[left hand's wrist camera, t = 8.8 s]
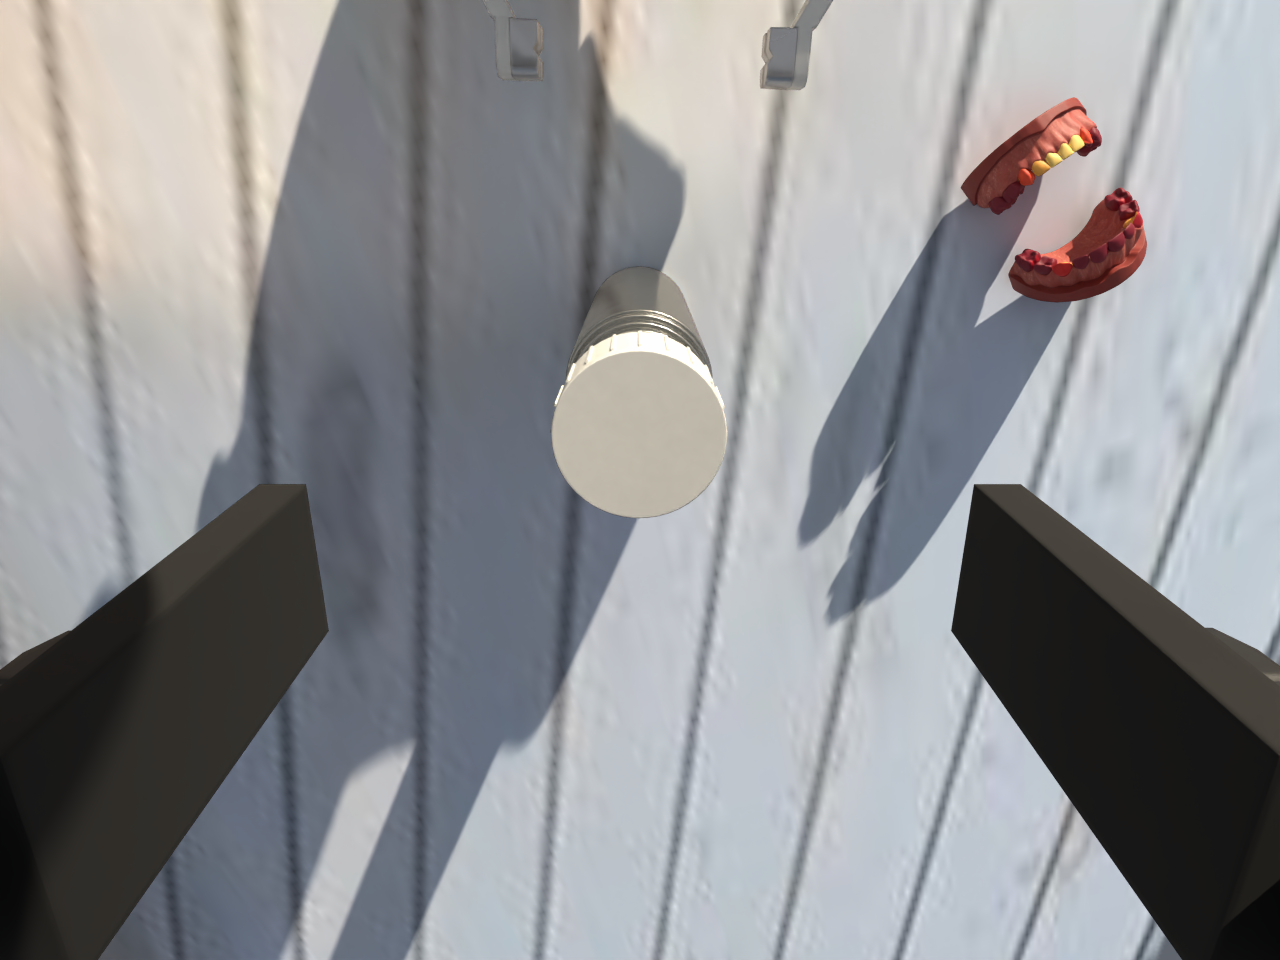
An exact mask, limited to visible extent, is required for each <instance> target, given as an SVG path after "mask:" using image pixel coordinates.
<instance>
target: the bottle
mask: <svg viewBox="0 0 1280 960" xmlns="http://www.w3.org/2000/svg"><path fill="white" fill-rule="evenodd" d="M638 331H642V332H647V333H654V334H659V335H663V336H664V335H667V336H668V338H671V339H673V340H675V341H677V342H679V343H681V344H682V345H684V346H685V347H686V348H687V346H688V347H690V349H691V351H692V352H693V353H694V354H695V355H696V356H697V357H698V358H699V360H700V361H701V362H702V363H703V365H705V364H706V365H707V367H708V369H709V372H710V375H711V377H712V370H711V365H710V361H709V358H708V355H707V353H706V350H705V348H704V345H703V343H702V340H701V338H700V335H699V333H698V330H697V328H696V326H695V323H694V321H693V318H692V316H691V313H690V311H689V308H688V306H687V303H686V301H685V298H684V296H683V294H682V292H681V290H680V288H679V287H678V286H677V284H676V283H675V282H674V281H673V280H672V279H671V278H670V277H668V276H667V275H666V274H664V273H662V272H660V271H658V270H656V269H653V268H649V267H630V268H626V269H623V270H621V271H618V272H616V273H615V274H613V275H612V276H610V277H609V278H608V279H607V280H606V281H605V282H604V283H603V284H602V285H601V287H600V288H599V290H598V291H597V293H596V295H595V298H594V300H593V302H592V305H591V307H590V310H589V312H588V315H587V317H586V319H585V322H584V324H583V327H582V329H581V332H580V334H579V337H578V339H577V341H576V344H575V346H574V349H573V351H572V354H571V356H570V359H569V362H568V367H567V372H566V379H567V377H568V374H569V371H570V369H571V366H572V364H573V363H574V364H576V362H577V361H578V360H579V359H580V358H581V357H582V356H583V354H584V353H586V352H587V351H588V350H589V347H590V346H591V345H592V346H595V345H596V344H598V343H599V342H601V341H603V340H605V339H608V338H610V337H612V336H613V335H614V334H616V335H619V334H624V333H630V332H638Z"/></svg>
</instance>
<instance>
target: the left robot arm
mask: <svg viewBox="0 0 1280 960" xmlns="http://www.w3.org/2000/svg"><path fill="white" fill-rule="evenodd" d="M328 631H329V630H328V623H327V617H326V610H325V604H324V597H323V591H322V585H321V578H320V572H319V565H318V559H317V552H316V546H315V540H314V533H313V527H312V520H311V514H310V507H309V501H308V495H307V488H306V484H259V485H258V486H257V487H255V488H254V489H253V490H251V491H250V492H249V493H248V494H246V495H245V496H244V497H242V498H241V499H240V500H239V501H237V502H236V503H235V504H233V505H232V506H231V507H230V508H228V509H227V510H226V511H224V512H223V513H222V514H221V515H219V516H218V517H217V518H215V519H214V520H213V521H212V522H210V523H209V524H208V525H207V526H205V527H204V528H203V529H201V530H200V531H199V532H198V533H196V534H195V535H194V536H192V537H191V538H190V539H189V540H187V541H186V542H185V543H183V544H182V545H181V546H180V547H178V548H177V549H176V550H174V551H173V552H172V553H171V554H169V555H168V556H167V557H165V558H164V559H163V560H162V561H160V562H159V563H158V564H157V565H155V566H154V567H153V568H151V569H150V570H149V571H148V572H146V573H145V574H144V575H142V576H141V577H140V578H139V579H137V580H136V581H135V582H133V583H132V584H131V585H130V586H128V587H127V588H126V589H124V590H123V591H122V592H121V593H119V594H118V595H117V596H115V597H114V598H113V599H112V600H110V601H109V602H108V603H106V604H105V605H104V606H103V607H101V608H100V609H99V610H98V611H96V612H95V613H94V614H92V615H91V616H90V617H89V618H87V619H86V620H85V621H83V622H82V623H81V624H80V625H78V626H77V627H76V628H74V629H73V630H72V631H67V632H65V633H63V634H60V635H58V636H56V637H54V638H52V639H50V640H48V641H46V642H44V643H42V644H40V645H38V646H36V647H34V648H32V649H30V650H28V651H26V652H24V653H22V654H21V655H19V656H18V657H17V658H15V659H14V660H13V661H11V662H10V663H9V664H7V665H6V666H5V667H3V668H2V669H1V670H0V960H98V959H99V957H100V956H101V954H102V953H103V952H104V950H105V949H106V947H107V946H108V944H109V943H110V942H111V940H112V939H113V937H114V936H115V934H116V933H117V932H118V930H119V929H120V927H121V926H122V925H123V923H124V922H125V920H126V919H127V917H128V916H129V915H130V913H131V912H132V910H133V909H134V907H135V906H136V905H137V903H138V902H139V900H140V899H141V897H142V896H143V895H144V893H145V892H146V890H147V889H148V887H149V886H150V885H151V883H152V882H153V880H154V879H155V878H156V876H157V875H158V873H159V872H160V870H161V869H162V868H163V866H164V865H165V863H166V862H167V860H168V859H169V858H170V856H171V855H172V853H173V852H174V850H175V849H176V848H177V846H178V845H179V843H180V842H181V840H182V839H183V838H184V836H185V835H186V833H187V832H188V831H189V829H190V828H191V826H192V825H193V823H194V822H195V821H196V819H197V818H198V816H199V815H200V813H201V812H202V811H203V809H204V808H205V806H206V805H207V803H208V802H209V801H210V799H211V798H212V796H213V795H214V793H215V792H216V791H217V789H218V788H219V786H220V785H221V784H222V782H223V781H224V779H225V778H226V776H227V775H228V774H229V772H230V771H231V769H232V768H233V766H234V765H235V764H236V762H237V761H238V759H239V758H240V756H241V755H242V754H243V752H244V751H245V749H246V748H247V746H248V745H249V744H250V742H251V741H252V739H253V738H254V737H255V735H256V734H257V732H258V731H259V729H260V728H261V727H262V725H263V724H264V722H265V721H266V719H267V718H268V717H269V715H270V714H271V712H272V711H273V709H274V708H275V707H276V705H277V704H278V702H279V701H280V699H281V698H282V697H283V695H284V694H285V692H286V691H287V690H288V688H289V687H290V685H291V684H292V682H293V681H294V680H295V678H296V677H297V675H298V674H299V672H300V671H301V670H302V668H303V667H304V665H305V664H306V662H307V661H308V660H309V658H310V657H311V655H312V654H313V652H314V651H315V650H316V648H317V647H318V645H319V644H320V643H321V641H322V640H323V638H324V637H325V635H326V634H327V633H328ZM951 631H952V633H953V634H954V635H955V637H956V638H957V640H958V641H959V643H960V644H961V645H962V647H963V648H964V650H965V651H966V652H967V654H968V655H969V657H970V658H971V660H972V661H973V662H974V664H975V665H976V667H977V668H978V670H979V671H980V672H981V674H982V675H983V677H984V678H985V680H986V681H987V682H988V684H989V685H990V687H991V688H992V690H993V691H994V692H995V694H996V695H997V697H998V698H999V699H1000V701H1001V702H1002V704H1003V705H1004V707H1005V708H1006V709H1007V711H1008V712H1009V714H1010V715H1011V717H1012V718H1013V719H1014V721H1015V722H1016V724H1017V725H1018V727H1019V728H1020V729H1021V731H1022V732H1023V734H1024V735H1025V737H1026V738H1027V739H1028V741H1029V742H1030V744H1031V745H1032V746H1033V748H1034V749H1035V751H1036V752H1037V754H1038V755H1039V756H1040V758H1041V759H1042V761H1043V762H1044V764H1045V765H1046V766H1047V768H1048V769H1049V771H1050V772H1051V774H1052V775H1053V776H1054V778H1055V779H1056V781H1057V782H1058V783H1059V785H1060V786H1061V788H1062V789H1063V791H1064V792H1065V793H1066V795H1067V796H1068V798H1069V799H1070V801H1071V802H1072V803H1073V805H1074V806H1075V808H1076V809H1077V811H1078V812H1079V813H1080V815H1081V816H1082V818H1083V819H1084V821H1085V822H1086V823H1087V825H1088V826H1089V828H1090V829H1091V830H1092V832H1093V833H1094V835H1095V836H1096V838H1097V839H1098V840H1099V842H1100V843H1101V845H1102V846H1103V848H1104V849H1105V850H1106V852H1107V853H1108V855H1109V856H1110V858H1111V859H1112V860H1113V862H1114V863H1115V865H1116V866H1117V868H1118V869H1119V870H1120V872H1121V873H1122V875H1123V876H1124V877H1125V879H1126V880H1127V882H1128V883H1129V885H1130V886H1131V887H1132V889H1133V890H1134V892H1135V893H1136V895H1137V896H1138V897H1139V899H1140V900H1141V902H1142V903H1143V905H1144V906H1145V907H1146V909H1147V910H1148V912H1149V913H1150V915H1151V916H1152V917H1153V919H1154V920H1155V922H1156V923H1157V924H1158V926H1159V927H1160V929H1161V930H1162V932H1163V933H1164V934H1165V936H1166V937H1167V939H1168V940H1169V942H1170V943H1171V944H1172V946H1173V947H1174V949H1175V950H1176V952H1177V953H1178V954H1179V956H1180V957H1181V959H1182V960H1280V666H1279V665H1278V664H1276V663H1275V662H1274V661H1272V660H1271V659H1270V658H1268V657H1267V656H1266V655H1264V654H1263V653H1262V652H1260V651H1259V650H1257V649H1255V648H1253V647H1251V646H1249V645H1247V644H1245V643H1243V642H1241V641H1239V640H1237V639H1235V638H1232V637H1230V636H1228V635H1226V634H1224V633H1222V632H1220V631H1218V630H1216V629H1214V628H1204V627H1203V626H1202V625H1200V624H1199V623H1198V622H1197V621H1195V620H1194V619H1193V618H1191V617H1190V616H1189V615H1188V614H1186V613H1185V612H1184V611H1182V610H1181V609H1180V608H1179V607H1177V606H1176V605H1175V604H1174V603H1172V602H1171V601H1170V600H1168V599H1167V598H1166V597H1165V596H1163V595H1162V594H1161V593H1159V592H1158V591H1157V590H1156V589H1154V588H1153V587H1152V586H1150V585H1149V584H1148V583H1147V582H1145V581H1144V580H1143V579H1141V578H1140V577H1139V576H1138V575H1136V574H1135V573H1134V572H1132V571H1131V570H1130V569H1129V568H1127V567H1126V566H1125V565H1124V564H1122V563H1121V562H1120V561H1118V560H1117V559H1116V558H1115V557H1113V556H1112V555H1111V554H1109V553H1108V552H1107V551H1106V550H1104V549H1103V548H1102V547H1100V546H1099V545H1098V544H1097V543H1095V542H1094V541H1093V540H1091V539H1090V538H1089V537H1088V536H1086V535H1085V534H1084V533H1082V532H1081V531H1080V530H1079V529H1077V528H1076V527H1075V526H1073V525H1072V524H1071V523H1070V522H1068V521H1067V520H1066V519H1065V518H1063V517H1062V516H1061V515H1059V514H1058V513H1057V512H1056V511H1054V510H1053V509H1052V508H1050V507H1049V506H1048V505H1047V504H1045V503H1044V502H1043V501H1041V500H1040V499H1039V498H1038V497H1036V496H1035V495H1034V494H1032V493H1031V492H1030V491H1029V490H1027V489H1026V488H1025V487H1023V486H1022V485H1021V484H974V488H973V495H972V501H971V508H970V514H969V520H968V527H967V533H966V540H965V546H964V552H963V559H962V565H961V572H960V578H959V585H958V591H957V597H956V604H955V610H954V617H953V623H952V630H951Z"/></svg>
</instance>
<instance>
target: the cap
mask: <svg viewBox="0 0 1280 960" xmlns="http://www.w3.org/2000/svg"><path fill="white" fill-rule="evenodd" d="M554 406H555V407H556V408H555V411H554V415H553V420H552V427H551V439H552V448H553V452H554V457H555V459H556V462H557V465H558V467H559V469H560V471H561V473H562V475H563V477H564V478H565V480H566V481H567V483H568V484H569V485H570V486H571V488H572V489H573V490H574V491H575V492H576V493H577V494H578V495H579V496H581V497H582V498H583V499H584V500H585V501H587V502H588V503H590V504H591V505H593V506H595V507H597V508H599V509H601V510H603V511H605V512H608V513H611V514H614V515H618V516H622V517H629V518H649V517H656V516H661V515H664V514H668V513H671V512H673V511H675V510H678V509H680V508H682V507H683V506H685V505H687V504H689V503H690V502H691V501H693V500H694V499H695V498H697V497H698V496H699V495H700V494H701V493H702V492H703V491H704V490H705V489H706V488H707V487H708V485H709V484H710V483H711V482H712V480H713V479H714V477H715V475H716V474H717V472H718V470H719V468H720V465H721V463H722V460H723V457H724V454H725V449H726V442H727V433H728V432H727V426H726V418H725V415H724V411H723V408H725V407H724V404H723V401H722V398H721V396H720V393H719V391H718V388H717V387H715V386H714V384H713V380H712V377H711V375H710V372H709V369H708V367H707V365H706V364H705V365H703V363H702V362H701V361H700V360H699V358H698V357H697V356H696V355H695V354H694V353H693V352H692V351H691V349H690V347H688V346H687V348H686V347H685V346H684V345H682V344H681V343H679V342H677V341H675V340H673V339H671V338H668V336H667V335H664V336H663V335H659V334H654V333H647V332H642V331H638V332H630V333H624V334H619V335H616V334H614V335H613V336H612V337H610V338H608V339H605V340H603V341H601V342H599V343H598V344H596V345H595V346H592V345H591V346H590V347H589V350H588V351H587V352H586V353H584V354H583V356H582V357H581V358H580V359H579V360H578V361H577V362H576V364H574V363H573V364H572V366H571V369H570V371H569V374H568V377H567V379H566V382H565V384H564V386H563V385H562V386H561V389H560V391H559V394H558V396H557V399H556V401H555V404H554Z"/></svg>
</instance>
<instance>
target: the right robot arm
mask: <svg viewBox="0 0 1280 960" xmlns="http://www.w3.org/2000/svg"><path fill="white" fill-rule="evenodd" d="M482 1H483V3H484V5H485V6H486V8H487V10H488V12H489V14H490V16H491V17H492V19H493V20H494V21H495V44H496V67H497V73H498V77H499V78H501V79H502V80H505V81H543V62H542V60H541V59H540V57H539V55H540V53H541V52H542V50H543V29H542V27H541V26H540V25H539V22H538V20H536V19H519V18H516V17H515V15H514V13H513V11H512V9H511V7H510V5H509V3H508V1H507V0H482ZM832 1H833V0H806V1H805V3H804V4H803V6H802V8H801V10H800V11H799V13H798V15H797V16H796V18H795V20H794V21H793V23H792V25H791V26H790V28H782V27H771V28H770V29H769V30H768V32H767V33H765V35H764V36H763V45H762V58H763V60H764V62H765V65H764V66H763V68H762V69H761V71H760V88H761V89H779V90H801V89H802V88H804V87H805V85H806V82H807V77H808V72H809V61H810V50H811V39H812V31H813V30H814V29H815V28H816V27H817V26H818V24H819V22H820V21H821V19H822V18H823V16H824V14H825V13H826V11H827V9H828V8H829V6H830V5H831V3H832Z"/></svg>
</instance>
